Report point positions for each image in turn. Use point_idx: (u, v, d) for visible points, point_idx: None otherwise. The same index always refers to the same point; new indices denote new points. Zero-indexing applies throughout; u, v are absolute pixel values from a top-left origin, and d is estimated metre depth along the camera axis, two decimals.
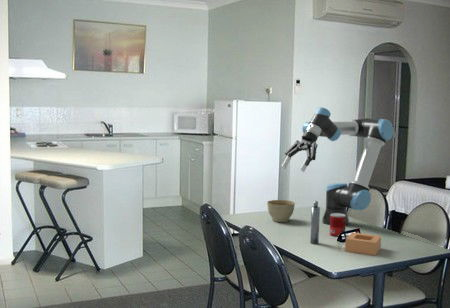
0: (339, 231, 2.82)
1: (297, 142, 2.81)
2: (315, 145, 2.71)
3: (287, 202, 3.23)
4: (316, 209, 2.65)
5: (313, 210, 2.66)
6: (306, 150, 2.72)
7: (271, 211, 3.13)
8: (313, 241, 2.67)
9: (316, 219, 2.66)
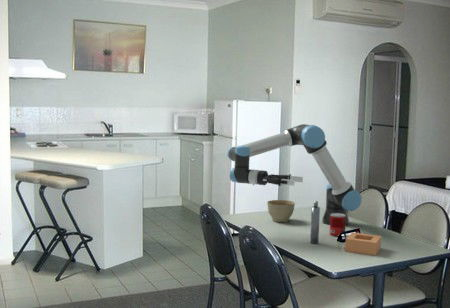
0: (339, 231, 2.82)
1: None
2: (265, 180, 2.70)
3: (287, 202, 3.23)
4: (316, 209, 2.65)
5: (313, 210, 2.66)
6: None
7: (271, 211, 3.13)
8: (313, 241, 2.67)
9: (316, 219, 2.66)
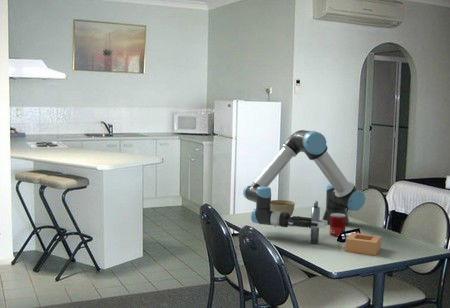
0: (339, 231, 2.82)
1: None
2: (292, 223, 2.67)
3: (287, 202, 3.23)
4: (316, 209, 2.65)
5: (313, 210, 2.66)
6: None
7: None
8: (313, 241, 2.67)
9: (316, 219, 2.66)
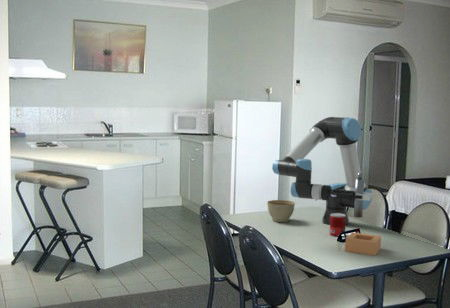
0: (339, 231, 2.82)
1: None
2: (335, 196, 2.55)
3: (287, 202, 3.23)
4: (361, 181, 2.54)
5: (357, 182, 2.54)
6: None
7: (271, 211, 3.13)
8: (357, 215, 2.56)
9: (360, 191, 2.54)
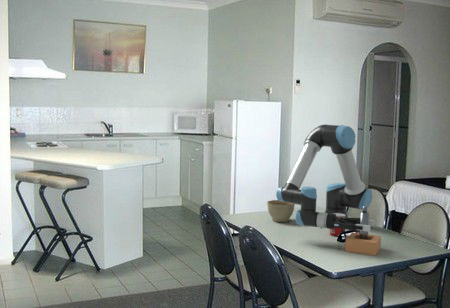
0: (339, 231, 2.82)
1: None
2: (337, 225, 2.56)
3: None
4: (365, 214, 2.55)
5: (362, 215, 2.56)
6: None
7: (271, 211, 3.13)
8: None
9: (365, 224, 2.56)
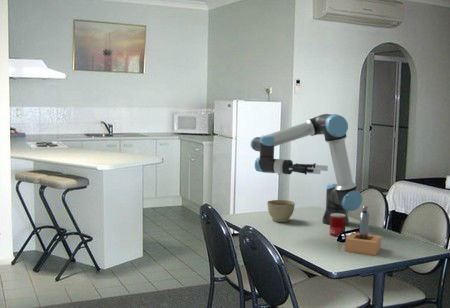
0: (339, 231, 2.82)
1: None
2: (291, 169, 2.72)
3: (287, 202, 3.23)
4: (365, 214, 2.55)
5: (362, 215, 2.56)
6: None
7: (271, 211, 3.13)
8: None
9: (365, 224, 2.56)
